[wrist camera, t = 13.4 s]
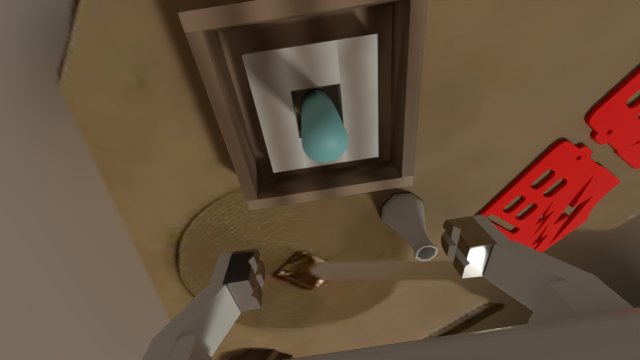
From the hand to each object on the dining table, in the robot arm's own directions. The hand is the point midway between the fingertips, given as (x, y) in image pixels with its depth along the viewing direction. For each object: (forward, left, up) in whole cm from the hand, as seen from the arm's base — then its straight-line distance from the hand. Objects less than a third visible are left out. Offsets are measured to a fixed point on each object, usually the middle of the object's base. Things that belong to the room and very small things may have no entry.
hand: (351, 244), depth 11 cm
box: (0, 0, -25) cm, 25 cm away
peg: (0, 0, -24) cm, 24 cm away
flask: (-12, +20, -25) cm, 34 cm away
